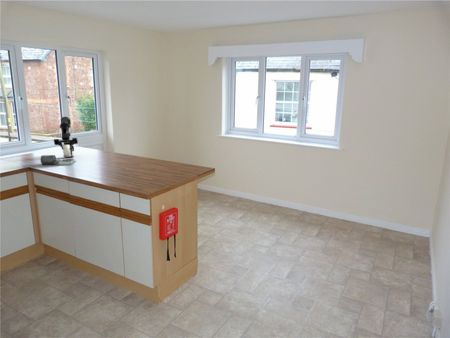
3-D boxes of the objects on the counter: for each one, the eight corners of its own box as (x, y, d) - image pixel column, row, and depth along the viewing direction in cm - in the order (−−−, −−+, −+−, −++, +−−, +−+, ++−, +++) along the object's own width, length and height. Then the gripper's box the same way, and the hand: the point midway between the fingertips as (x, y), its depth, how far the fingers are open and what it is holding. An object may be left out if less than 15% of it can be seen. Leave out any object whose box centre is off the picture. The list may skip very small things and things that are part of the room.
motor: (45, 162, 300) (44, 154, 298) (76, 161, 303) (74, 153, 301) (40, 166, 288) (39, 157, 286) (71, 165, 292) (70, 156, 290)
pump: (66, 155, 298) (65, 144, 296) (73, 155, 297) (71, 144, 295) (62, 157, 292) (60, 145, 290) (68, 157, 291) (67, 146, 289)
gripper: (52, 130, 289) (53, 144, 282) (76, 128, 296) (77, 143, 289) (54, 137, 298) (55, 152, 291) (77, 136, 305) (78, 150, 298)
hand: (66, 149), depth 292 cm, fingers closed on pump, 5 cm apart
